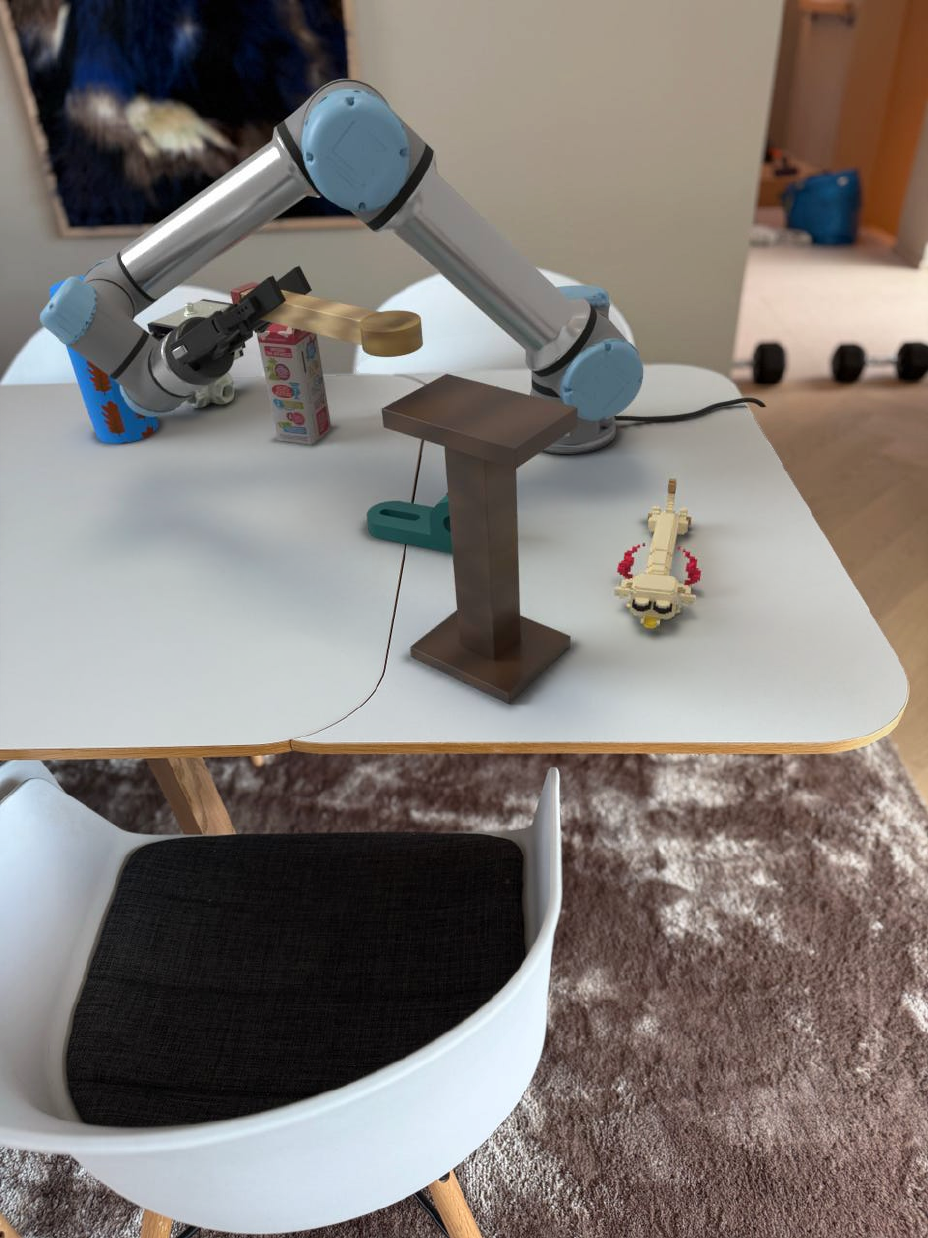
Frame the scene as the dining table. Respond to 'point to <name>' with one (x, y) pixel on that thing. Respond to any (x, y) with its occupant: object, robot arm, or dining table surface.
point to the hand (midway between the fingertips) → (290, 283)
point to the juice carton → (294, 383)
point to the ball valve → (161, 327)
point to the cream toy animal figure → (659, 568)
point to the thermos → (107, 401)
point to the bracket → (412, 524)
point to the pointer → (346, 322)
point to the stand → (485, 526)
